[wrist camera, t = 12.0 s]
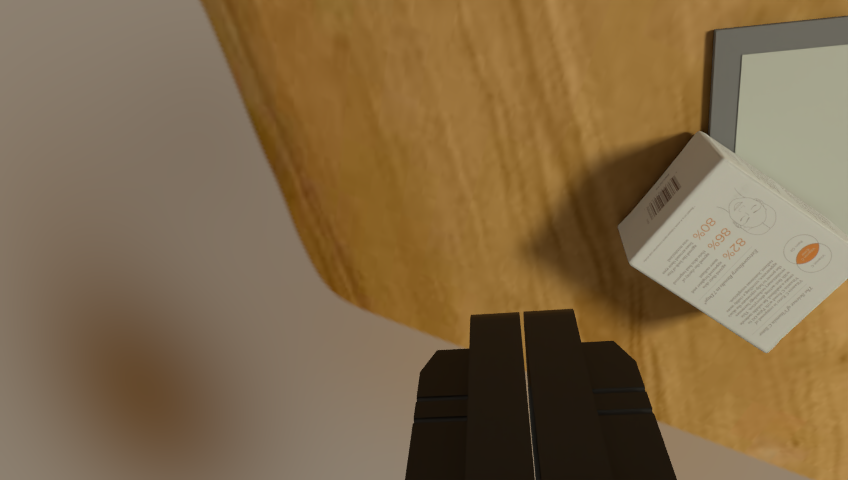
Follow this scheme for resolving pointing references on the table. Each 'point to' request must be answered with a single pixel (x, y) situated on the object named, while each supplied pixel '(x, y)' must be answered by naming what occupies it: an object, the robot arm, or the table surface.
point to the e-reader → (787, 106)
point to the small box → (735, 243)
